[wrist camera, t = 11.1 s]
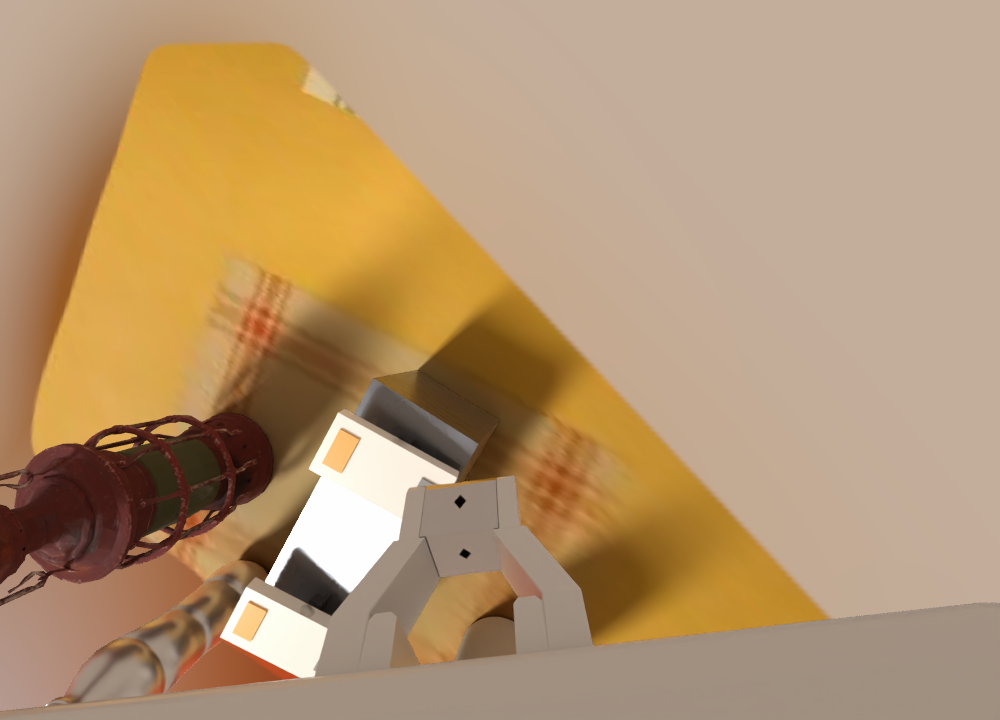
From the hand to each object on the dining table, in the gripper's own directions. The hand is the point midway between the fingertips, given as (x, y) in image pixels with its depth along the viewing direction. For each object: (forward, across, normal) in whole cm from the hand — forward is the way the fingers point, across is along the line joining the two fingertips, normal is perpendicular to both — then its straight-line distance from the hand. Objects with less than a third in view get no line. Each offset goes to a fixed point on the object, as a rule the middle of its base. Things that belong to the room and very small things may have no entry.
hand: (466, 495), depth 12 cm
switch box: (+22, +12, +26) cm, 36 cm away
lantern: (+28, +31, +23) cm, 47 cm away
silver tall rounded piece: (+20, +30, +35) cm, 50 cm away
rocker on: (+15, +9, +14) cm, 22 cm away
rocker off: (+9, +18, +26) cm, 33 cm away
